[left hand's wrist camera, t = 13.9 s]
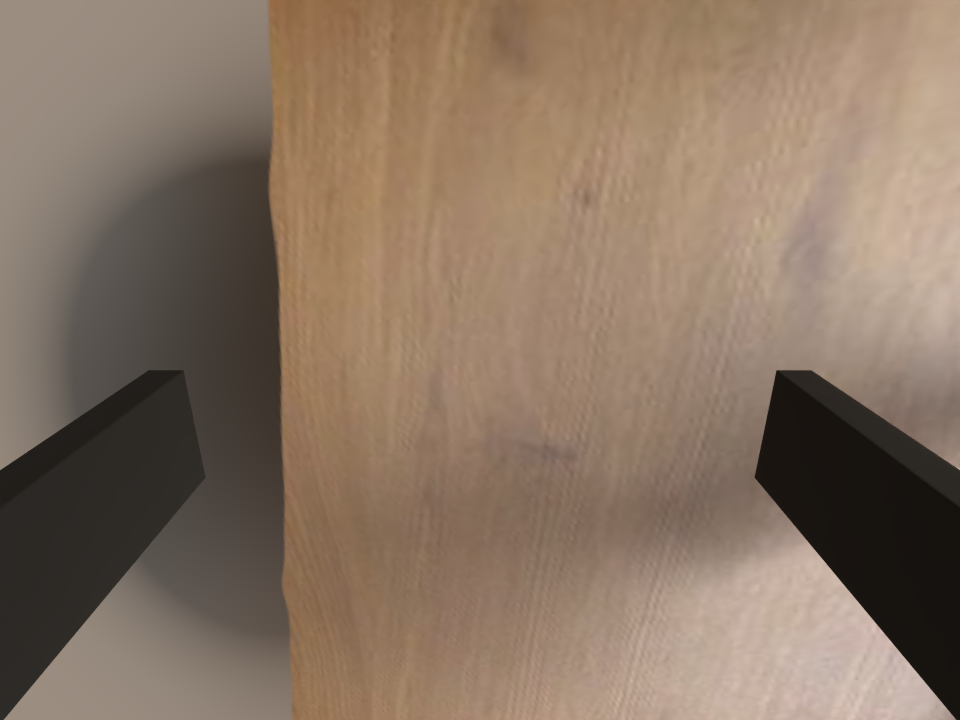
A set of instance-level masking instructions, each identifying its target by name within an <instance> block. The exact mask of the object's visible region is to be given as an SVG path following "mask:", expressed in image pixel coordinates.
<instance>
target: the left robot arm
mask: <svg viewBox="0 0 960 720" xmlns="http://www.w3.org/2000/svg"><path fill="white" fill-rule="evenodd" d="M204 478H205V474H204V469H203V464H202V459H201V454H200V449H199V444H198V439H197V435H196V430H195V425H194V420H193V415H192V410H191V405H190V400H189V396H188V391H187V386H186V381H185V376H184V371H183V370H149V371H147V372H146V373H144V374H143V375H141V376H140V377H138V378H137V379H135V380H134V381H132V382H131V383H129V384H128V385H126V386H125V387H123V388H122V389H120V390H119V391H118V392H116V393H114V394H113V395H112V396H110V397H109V398H107V399H106V400H104V401H103V402H101V403H100V404H98V405H97V406H95V407H94V408H92V409H91V410H89V411H88V412H86V413H85V414H83V415H82V416H80V417H79V418H77V419H76V420H74V421H73V422H71V423H70V424H68V425H67V426H65V427H64V428H63V429H61V430H59V431H58V432H57V433H55V434H54V435H52V436H51V437H49V438H48V439H46V440H45V441H43V442H42V443H40V444H39V445H37V446H36V447H34V448H33V449H31V450H30V451H28V452H27V453H25V454H24V455H22V456H21V457H19V458H18V459H16V460H15V461H13V462H12V463H10V464H9V465H7V466H6V467H4V468H3V469H2V470H0V720H4V719H5V717H6V716H7V715H8V714H9V713H10V711H11V710H12V709H13V708H14V707H15V705H16V704H17V703H18V702H19V701H20V699H21V698H22V697H23V696H24V695H25V693H26V692H27V691H28V690H29V689H30V687H31V686H32V685H33V684H34V683H35V681H36V680H37V679H38V678H39V677H40V675H41V674H42V673H43V672H44V671H45V669H46V668H47V667H48V666H49V665H50V663H51V662H52V661H53V660H54V659H55V657H56V656H57V655H58V654H59V653H60V651H61V650H62V649H63V648H64V647H65V645H66V644H67V643H68V642H69V641H70V639H71V638H72V637H73V636H74V635H75V633H76V632H77V631H78V630H79V629H80V627H81V626H82V625H83V624H84V623H85V621H86V620H87V619H88V618H89V617H90V615H91V614H92V613H93V612H94V611H95V609H96V608H97V607H98V606H99V605H100V603H101V602H102V601H103V600H104V599H105V597H106V596H107V595H108V594H109V593H110V591H111V590H112V589H113V588H114V586H115V585H116V584H117V583H118V582H119V581H120V579H121V578H122V577H123V576H124V574H125V573H126V572H127V571H128V570H129V569H130V567H131V566H132V565H133V564H134V562H135V561H136V560H137V559H138V558H139V556H140V555H141V554H142V553H143V552H144V551H145V549H146V548H147V547H148V546H149V544H150V543H151V542H152V541H153V540H154V538H155V537H156V536H157V535H158V534H159V532H160V531H161V530H162V529H163V528H164V526H165V525H166V524H167V523H168V522H169V520H170V519H171V518H172V517H173V516H174V514H175V513H176V512H177V511H178V510H179V508H180V507H181V506H182V505H183V504H184V502H185V501H186V500H187V499H188V498H189V496H190V495H191V494H192V493H193V492H194V490H195V489H196V488H197V487H198V486H199V484H200V483H201V482H202V481H203V480H204ZM755 478H756V480H757V481H758V482H759V483H760V484H761V486H762V487H763V488H764V489H765V490H766V492H767V493H768V494H769V495H770V496H771V498H772V499H773V500H774V501H775V502H776V504H777V505H778V506H779V507H780V508H781V510H782V511H783V512H784V513H785V514H786V516H787V517H788V518H789V519H790V520H791V522H792V523H793V524H794V525H795V526H796V528H797V529H798V530H799V531H800V533H801V534H802V535H803V536H804V537H805V539H806V540H807V541H808V542H809V543H810V545H811V546H812V547H813V548H814V549H815V551H816V552H817V553H818V554H819V555H820V557H821V558H822V559H823V560H824V561H825V563H826V564H827V565H828V566H829V567H830V569H831V570H832V571H833V572H834V573H835V575H836V576H837V577H838V578H839V579H840V581H841V582H842V583H843V584H844V585H845V587H846V588H847V589H848V590H849V591H850V593H851V594H852V595H853V596H854V597H855V599H856V600H857V601H858V602H859V603H860V605H861V606H862V607H863V608H864V609H865V611H866V612H867V613H868V614H869V615H870V617H871V618H872V619H873V620H874V621H875V623H876V624H877V625H878V626H879V627H880V629H881V630H882V631H883V632H884V633H885V635H886V636H887V637H888V638H889V639H890V641H891V642H892V643H893V644H894V645H895V647H896V648H897V649H898V650H899V651H900V653H901V654H902V655H903V656H904V657H905V659H906V660H907V661H908V662H909V663H910V665H911V666H912V667H913V668H914V669H915V671H916V672H917V673H918V674H919V675H920V677H921V678H922V679H923V680H924V681H925V683H926V684H927V685H928V686H929V687H930V689H931V690H932V691H933V692H934V693H935V695H936V696H937V697H938V698H939V699H940V701H941V702H942V703H943V704H944V705H945V707H946V708H947V709H948V710H949V711H950V713H951V714H952V715H953V716H954V717H955V719H956V720H960V470H958V469H957V468H956V467H954V466H953V465H951V464H950V463H948V462H947V461H945V460H944V459H942V458H941V457H939V456H938V455H936V454H935V453H933V452H932V451H930V450H929V449H927V448H926V447H924V446H923V445H921V444H920V443H918V442H917V441H915V440H914V439H912V438H911V437H909V436H908V435H906V434H905V433H903V432H902V431H901V430H899V429H898V428H896V427H895V426H893V425H892V424H890V423H889V422H887V421H886V420H884V419H883V418H881V417H880V416H878V415H877V414H875V413H874V412H872V411H871V410H869V409H868V408H866V407H865V406H863V405H862V404H860V403H859V402H857V401H856V400H854V399H853V398H851V397H850V396H848V395H847V394H846V393H844V392H843V391H841V390H840V389H838V388H837V387H835V386H834V385H832V384H831V383H829V382H828V381H826V380H825V379H823V378H822V377H820V376H819V375H817V374H816V373H814V372H813V371H811V370H777V371H776V376H775V381H774V386H773V391H772V395H771V400H770V405H769V410H768V415H767V420H766V425H765V430H764V435H763V439H762V444H761V449H760V454H759V459H758V464H757V469H756V474H755Z"/></svg>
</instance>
